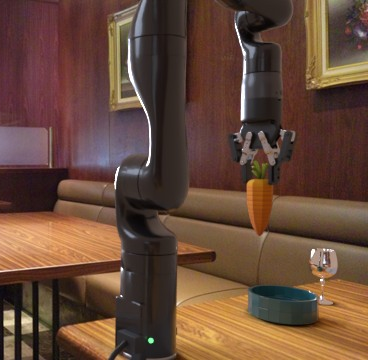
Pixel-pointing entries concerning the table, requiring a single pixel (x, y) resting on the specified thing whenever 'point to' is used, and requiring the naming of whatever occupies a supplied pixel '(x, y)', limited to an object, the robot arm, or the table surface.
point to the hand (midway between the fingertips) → (260, 183)
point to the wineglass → (323, 267)
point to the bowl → (283, 304)
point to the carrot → (259, 199)
